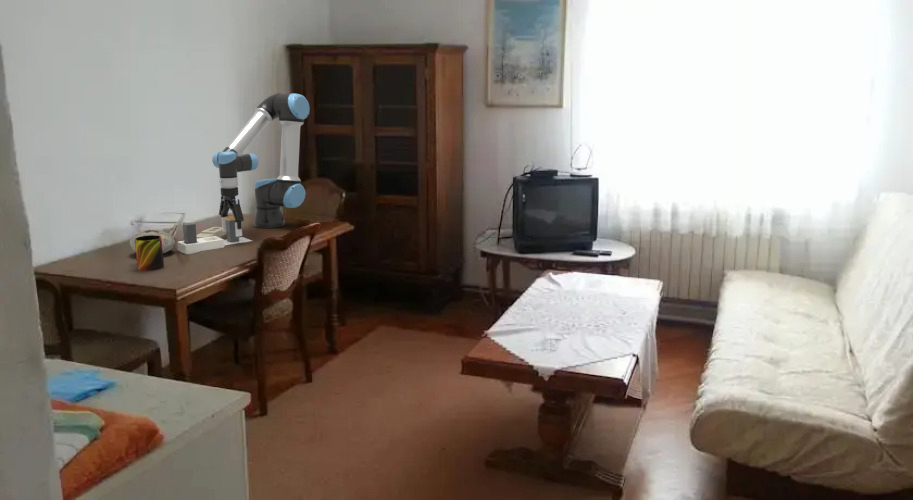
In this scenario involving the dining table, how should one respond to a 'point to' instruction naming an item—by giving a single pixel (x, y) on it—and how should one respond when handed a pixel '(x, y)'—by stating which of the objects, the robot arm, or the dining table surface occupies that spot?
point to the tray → (237, 242)
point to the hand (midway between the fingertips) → (232, 233)
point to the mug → (149, 252)
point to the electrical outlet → (211, 232)
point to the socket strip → (197, 240)
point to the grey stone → (166, 237)
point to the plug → (231, 229)
